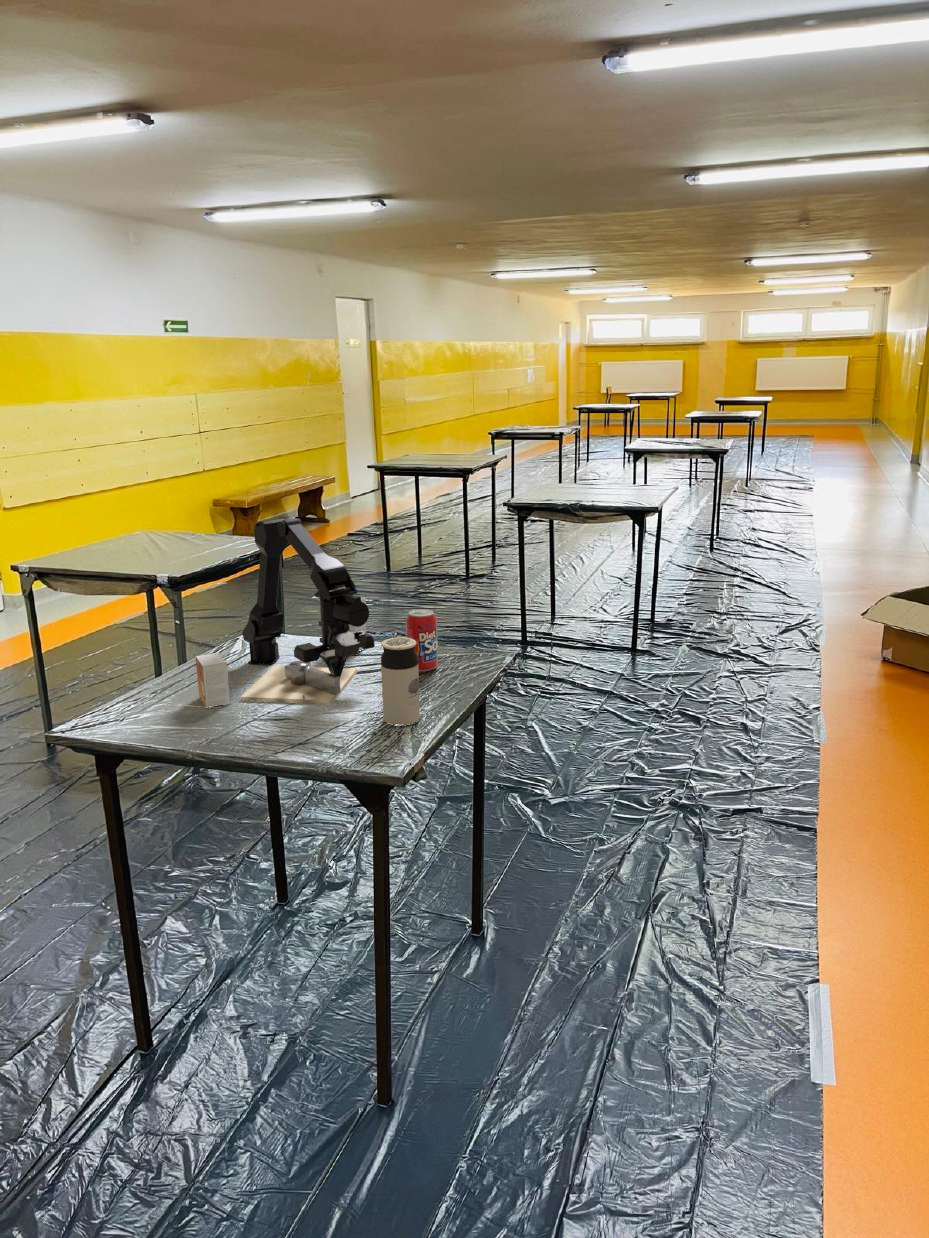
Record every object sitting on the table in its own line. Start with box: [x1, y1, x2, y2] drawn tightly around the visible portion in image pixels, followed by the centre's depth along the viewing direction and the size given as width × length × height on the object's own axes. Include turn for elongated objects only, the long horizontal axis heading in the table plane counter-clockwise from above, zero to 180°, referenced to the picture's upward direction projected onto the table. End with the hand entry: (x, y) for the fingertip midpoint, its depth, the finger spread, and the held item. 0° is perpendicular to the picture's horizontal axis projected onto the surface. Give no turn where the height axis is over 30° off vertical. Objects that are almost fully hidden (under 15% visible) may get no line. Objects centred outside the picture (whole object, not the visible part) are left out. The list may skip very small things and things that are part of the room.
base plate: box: [240, 665, 358, 706], centre depth 213 cm, size 22×22×1 cm
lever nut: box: [284, 660, 342, 695], centre depth 209 cm, size 18×5×4 cm, turn 49°
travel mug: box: [380, 636, 421, 725], centre depth 189 cm, size 8×8×18 cm
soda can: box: [405, 608, 439, 673], centre depth 222 cm, size 8×8×15 cm
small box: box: [195, 652, 231, 708], centre depth 203 cm, size 8×6×10 cm
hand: (336, 680), depth 208 cm, fingers closed
